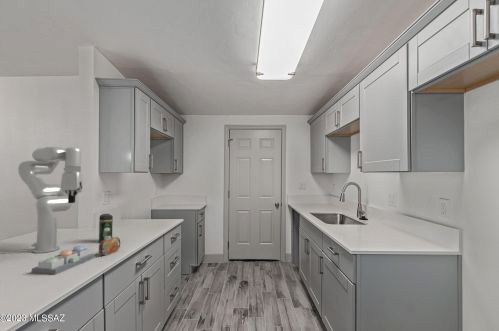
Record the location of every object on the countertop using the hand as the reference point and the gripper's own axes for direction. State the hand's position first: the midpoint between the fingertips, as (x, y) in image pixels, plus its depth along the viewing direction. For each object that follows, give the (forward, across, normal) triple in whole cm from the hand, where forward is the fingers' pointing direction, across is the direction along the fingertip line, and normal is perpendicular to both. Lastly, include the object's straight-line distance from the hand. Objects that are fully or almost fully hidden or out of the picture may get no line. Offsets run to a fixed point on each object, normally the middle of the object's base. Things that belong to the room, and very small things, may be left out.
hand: (71, 202), depth 150 cm
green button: (+27, +10, -23) cm, 37 cm away
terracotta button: (+26, +10, -14) cm, 31 cm away
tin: (+29, +18, +8) cm, 35 cm away
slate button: (+26, +10, -6) cm, 28 cm away
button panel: (+29, +10, -14) cm, 34 cm away
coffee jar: (+29, -2, +33) cm, 44 cm away
